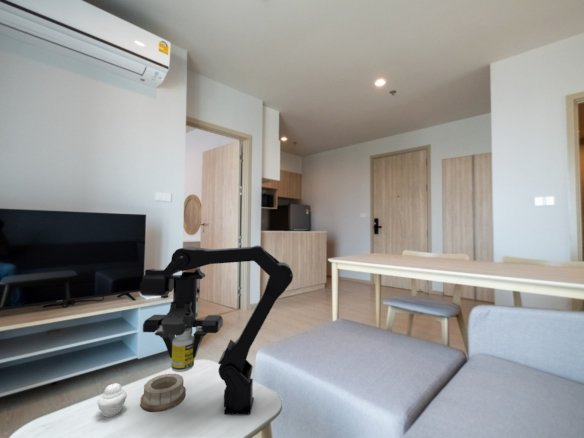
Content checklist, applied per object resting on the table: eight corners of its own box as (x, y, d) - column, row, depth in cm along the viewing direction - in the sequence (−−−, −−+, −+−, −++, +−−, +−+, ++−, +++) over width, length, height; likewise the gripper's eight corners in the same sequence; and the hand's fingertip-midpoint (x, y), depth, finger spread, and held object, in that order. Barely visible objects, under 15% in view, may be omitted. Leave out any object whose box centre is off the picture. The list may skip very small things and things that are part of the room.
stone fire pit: (191, 387, 80) (192, 372, 80) (175, 412, 69) (175, 395, 69) (153, 387, 80) (154, 372, 80) (131, 411, 69) (131, 394, 69)
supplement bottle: (186, 374, 67) (186, 333, 68) (166, 371, 69) (167, 331, 69) (198, 363, 73) (199, 326, 73) (180, 361, 74) (181, 324, 74)
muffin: (93, 414, 68) (94, 384, 68) (121, 402, 73) (122, 375, 73) (101, 425, 64) (102, 394, 64) (130, 412, 69) (131, 383, 69)
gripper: (131, 303, 63) (128, 373, 63) (212, 304, 64) (210, 373, 63) (154, 292, 75) (152, 351, 74) (223, 293, 75) (222, 352, 74)
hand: (183, 357), depth 71 cm, fingers closed on supplement bottle, 5 cm apart
